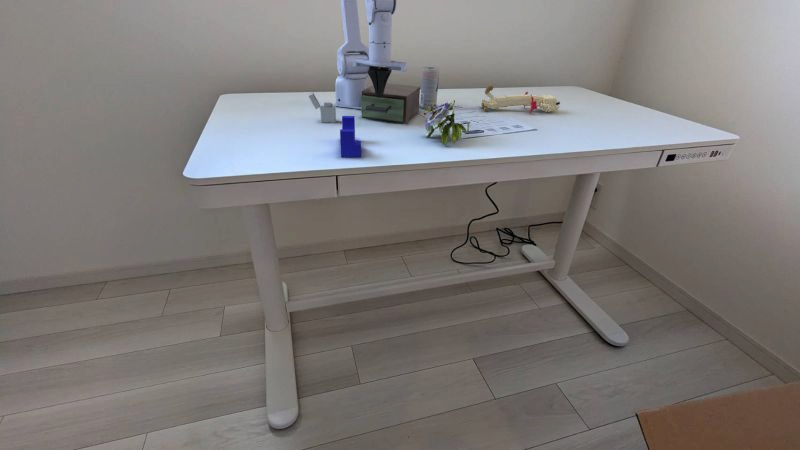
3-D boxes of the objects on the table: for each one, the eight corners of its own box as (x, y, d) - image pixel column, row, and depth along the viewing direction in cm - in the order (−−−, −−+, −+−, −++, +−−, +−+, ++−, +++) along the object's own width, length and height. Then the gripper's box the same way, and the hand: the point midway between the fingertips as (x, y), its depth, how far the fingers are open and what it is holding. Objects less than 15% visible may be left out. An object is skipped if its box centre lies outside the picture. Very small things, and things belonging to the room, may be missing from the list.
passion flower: (427, 156, 105) (419, 113, 106) (467, 149, 105) (458, 106, 106) (431, 146, 94) (421, 98, 94) (475, 137, 94) (465, 89, 95)
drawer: (396, 126, 107) (397, 104, 104) (355, 120, 110) (354, 99, 107) (414, 110, 121) (415, 91, 118) (377, 106, 124) (377, 87, 121)
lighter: (336, 120, 112) (334, 92, 108) (336, 122, 111) (334, 93, 106) (310, 120, 111) (308, 91, 107) (310, 122, 110) (307, 93, 105)
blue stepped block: (361, 157, 89) (360, 131, 86) (341, 157, 88) (339, 131, 85) (361, 139, 99) (360, 116, 96) (343, 139, 99) (342, 115, 95)
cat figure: (485, 117, 125) (564, 113, 124) (487, 89, 120) (569, 85, 120) (479, 109, 133) (553, 105, 133) (481, 82, 129) (557, 78, 128)
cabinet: (405, 123, 112) (406, 96, 108) (361, 117, 116) (361, 91, 112) (418, 111, 123) (420, 86, 119) (378, 106, 127) (378, 82, 123)
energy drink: (436, 105, 131) (439, 67, 125) (436, 109, 126) (439, 70, 120) (420, 104, 131) (422, 66, 125) (419, 108, 127) (421, 69, 120)
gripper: (347, 41, 99) (349, 96, 106) (402, 46, 95) (400, 103, 102) (358, 39, 105) (359, 91, 112) (410, 43, 101) (408, 97, 108)
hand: (379, 96), depth 107 cm, fingers closed
